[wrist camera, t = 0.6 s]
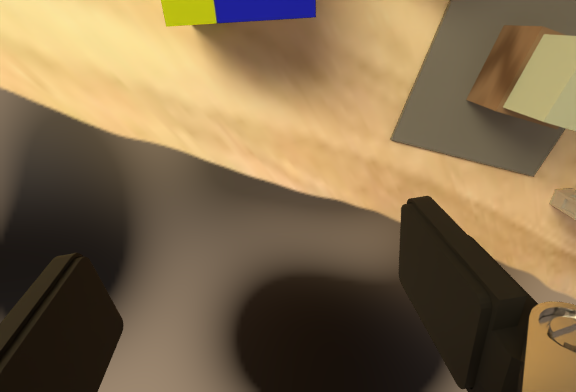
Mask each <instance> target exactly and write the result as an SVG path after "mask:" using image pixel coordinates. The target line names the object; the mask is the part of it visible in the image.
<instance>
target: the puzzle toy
mask: <svg viewBox="0 0 576 392" xmlns="http://www.w3.org/2000/svg"><path fill="white" fill-rule="evenodd" d="M161 3H162V8H163V13H164V18H165V23H166V27H167V26H183V25H199V24H215V23H232V22H248V21H264V20H280V19H297V18H313V17H316V0H161Z"/></svg>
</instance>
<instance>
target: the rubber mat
mask: <svg viewBox="0 0 576 392" xmlns="http://www.w3.org/2000/svg"><path fill="white" fill-rule="evenodd" d="M504 25H517V26H544V27H546V28H549V29H551V30H554V31H557V32H559V33H562V34H565V35H568V36H576V0H450V1H449V4H448V6H447V8H446V11H445V13H444V15H443V18H442V20H441V22H440V25H439V27H438V29H437V32H436V34H435V36H434V39H433V41H432V43H431V46H430V48H429V50H428V53H427V55H426V57H425V59H424V62H423V64H422V66H421V69H420V71H419V73H418V76H417V78H416V80H415V83H414V85H413V87H412V90H411V92H410V94H409V97H408V99H407V101H406V104H405V106H404V108H403V111H402V113H401V115H400V118H399V120H398V122H397V125H396V127H395V129H394V132H393V134H392V136H391V140H393V141H397V142H401V143H405V144H408V145H412V146H416V147H420V148H424V149H428V150H432V151H436V152H440V153H444V154H447V155H451V156H455V157H459V158H463V159H467V160H471V161H475V162H479V163H483V164H486V165H490V166H494V167H498V168H502V169H506V170H510V171H514V172H518V173H522V174H525V175H529V176H533V177H534V175H535V174H536V172H537V171H538V169H539V168H540V166H541V165H542V163H543V162H544V160H545V159H546V157H547V156H548V154H549V153H550V151H551V150H552V148H553V147H554V145H555V144H556V142H557V141H558V139H559V138H560V136H561V135H562V133H563V132H564V130H565V129H566V128H562V127H559V128H558V130H557V129H554V128H550V127H547V126H544V125H540V124H537V123H534V122H530V121H527V120H524V119H520V118H517V117H514V116H510V115H507V114H504V113H500V112H497V111H494V110H491V109H489V108H486V107H484V106H481V105H478V104H476V103H473V102H470V101H468V100H466V99H467V97H468V95H469V93H470V91H471V89H472V87H473V85H474V83H475V81H476V79H477V77H478V75H479V73H480V71H481V69H482V67H483V65H484V63H485V61H486V60H487V58H488V56H489V54H490V52H491V50H492V48H493V46H494V44H495V42H496V40H497V38H498V36H499V34H500V32H501V30H502V28H503V26H504Z"/></svg>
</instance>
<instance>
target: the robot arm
mask: <svg viewBox="0 0 576 392" xmlns="http://www.w3.org/2000/svg"><path fill="white" fill-rule="evenodd" d="M399 278H400V282H401V284H402V286H403V288H404V290H405V292H406V293H407V295H408V297H409V299H410V301H411V302H412V304H413V306H414V308H415V310H416V311H417V313H418V315H419V317H420V319H421V320H422V322H423V324H424V326H425V328H426V329H427V331H428V333H429V335H430V337H431V338H432V340H433V342H434V344H435V346H436V348H437V349H438V351H439V353H440V355H441V357H442V358H443V360H444V362H445V364H446V366H447V367H448V369H449V371H450V373H451V375H452V376H453V378H454V380H455V382H456V384H457V385H458V386H459V387H460V388H461V389H467V391H468V392H576V305H574V304H569V303H564V302H544V303H540V304H538V303H537V302H536V301H535V300H534V299H533V298H531V296H530V295H529V294H528V293H527V292H526V291H525V290H524V289H523V288H522V287H521V286H520V285H519V284H518V283H517V282H516V281H515V280H514V279H513V278H512V277H511V276H510V275H509V274H508V273H507V272H506V271H505V270H504V269H503V268H502V267H501V266H500V265H499V264H498V263H497V262H496V261H495V260H494V259H493V258H492V257H491V256H490V255H489V254H488V253H487V252H486V251H485V250H484V249H483V248H482V247H481V246H480V245H479V244H478V243H477V242H476V241H475V240H474V239H473V238H472V237H471V236H469V235H467V234H466V233H465V232H464V231H463V230H462V229H461V228H460V227H459V226H458V225H457V224H456V223H455V222H454V221H453V220H452V218H451V217H450V216H449V215H448V214H447V213H446V212H445V211H444V210H443V209H442V208H441V207H440V206H439V205H438V204H437V203H436V202H435V201H434V200H433V199H432V198H431V197H429V196H423V197H417V198H411V199H408V201H407V204H404V205H402V208H401V229H400V255H399ZM122 331H123V320H122V318H121V316H120V314H119V312H118V311H117V309H116V307H115V305H114V303H113V301H112V300H111V298H110V296H109V294H108V292H107V290H106V289H105V287H104V285H103V283H102V281H101V280H100V278H99V276H98V274H97V272H96V270H95V269H94V267H93V265H92V263H91V261H90V260H89V259H88V258H87V257H83V256H82V255H81V254H79V253H75V254H68V255H63V256H58V257H55V258H54V259H53V260H52V261H51V262H50V264H49V265H48V266H47V267H46V268H45V270H44V271H43V272H42V273H41V275H40V276H39V277H38V278H37V279H36V281H35V282H34V283H33V284H32V285H31V287H30V288H29V289H28V290H27V292H26V293H25V294H24V295H23V297H22V298H21V299H20V300H19V301H18V303H17V304H16V305H15V306H14V308H13V309H12V310H11V311H10V312H9V313H8V315H7V316H6V317H5V318H4V320H3V321H2V322H1V323H0V392H98V389H99V387H100V384H101V382H102V380H103V377H104V375H105V372H106V370H107V368H108V365H109V363H110V360H111V358H112V355H113V353H114V350H115V348H116V346H117V343H118V341H119V339H120V336H121V334H122Z"/></svg>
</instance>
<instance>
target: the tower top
mask: <svg viewBox="0 0 576 392" xmlns="http://www.w3.org/2000/svg"><path fill="white" fill-rule="evenodd" d="M503 108H506V109H509V110H512V111H514V112H517V113H520V114H523V115H526V116H529V117H531V118H534V119H537V120H540V121H543V122H546V123H549V124H552V125H556V126H559V127H562V128H566V129H569V130H572V131H576V36H568V35H549V34H544V35H543V37H542V39H541V40H540V42H539V44H538V46H537V47H536V49H535V51H534V53H533V54H532V56H531V58H530V60H529V62H528V63H527V65H526V67H525V69H524V70H523V72H522V74H521V76H520V78H519V79H518V81H517V83H516V85H515V86H514V88H513V90H512V92H511V94H510V95H509V97H508V99H507V101H506V102H505V104H504V106H503Z"/></svg>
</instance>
